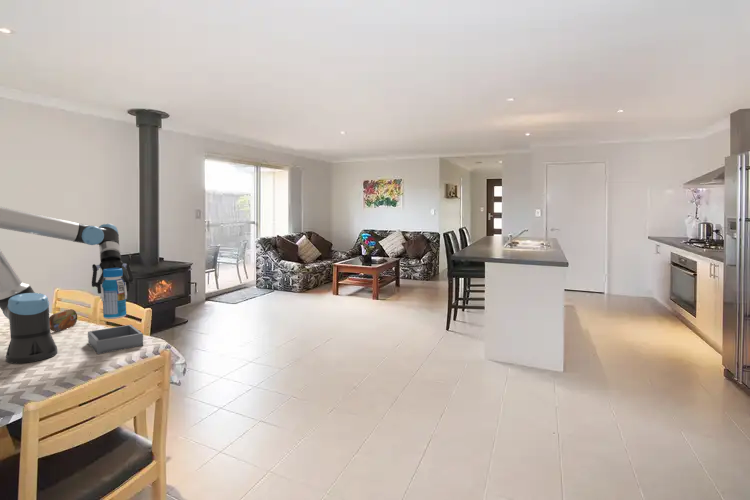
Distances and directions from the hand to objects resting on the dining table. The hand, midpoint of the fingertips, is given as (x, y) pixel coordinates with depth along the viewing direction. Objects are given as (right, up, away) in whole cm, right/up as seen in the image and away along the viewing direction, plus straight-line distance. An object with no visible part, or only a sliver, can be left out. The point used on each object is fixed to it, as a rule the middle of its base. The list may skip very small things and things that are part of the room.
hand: (114, 298), depth 170 cm
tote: (-2, -20, +4) cm, 20 cm away
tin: (-40, -18, +26) cm, 51 cm away
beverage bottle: (-2, -8, +4) cm, 9 cm away
